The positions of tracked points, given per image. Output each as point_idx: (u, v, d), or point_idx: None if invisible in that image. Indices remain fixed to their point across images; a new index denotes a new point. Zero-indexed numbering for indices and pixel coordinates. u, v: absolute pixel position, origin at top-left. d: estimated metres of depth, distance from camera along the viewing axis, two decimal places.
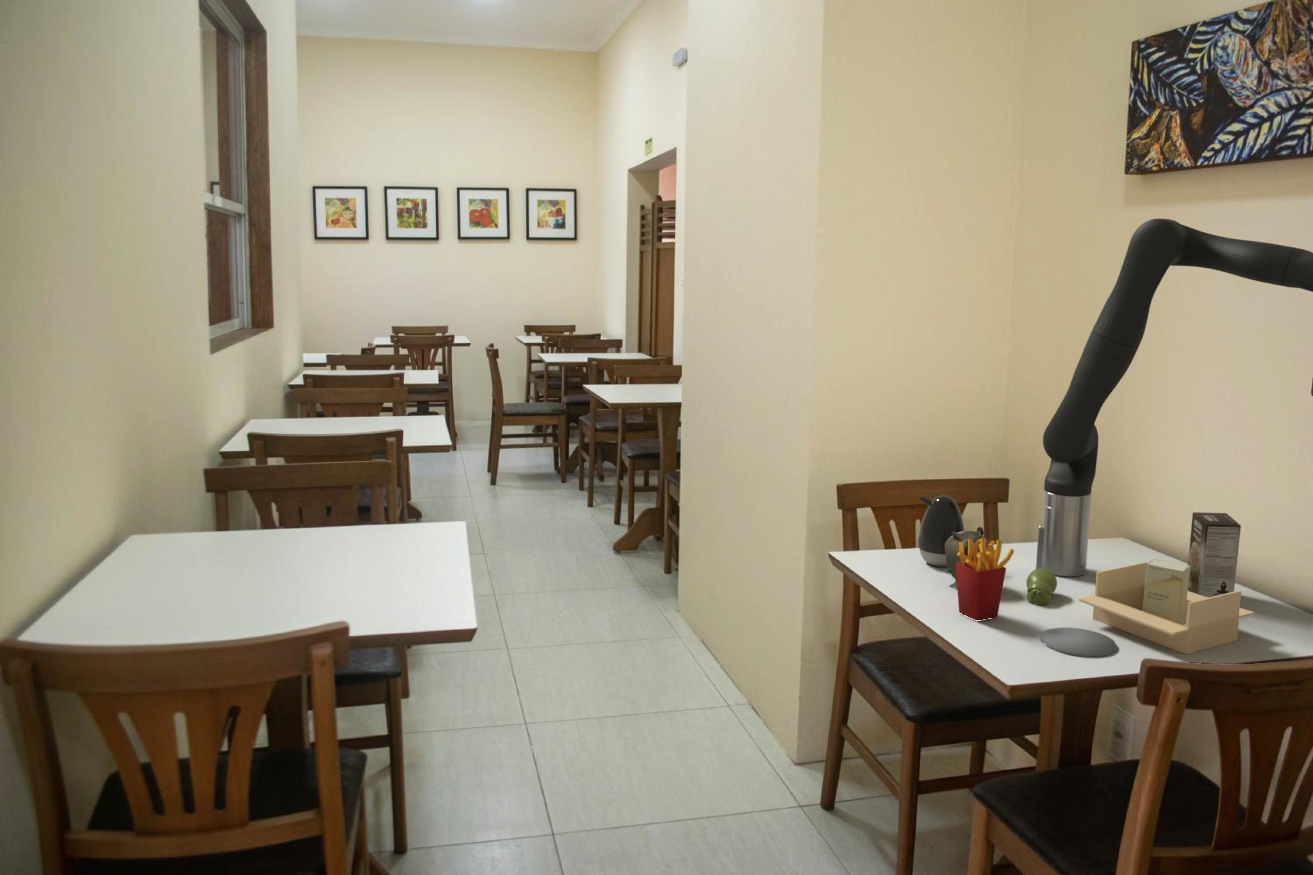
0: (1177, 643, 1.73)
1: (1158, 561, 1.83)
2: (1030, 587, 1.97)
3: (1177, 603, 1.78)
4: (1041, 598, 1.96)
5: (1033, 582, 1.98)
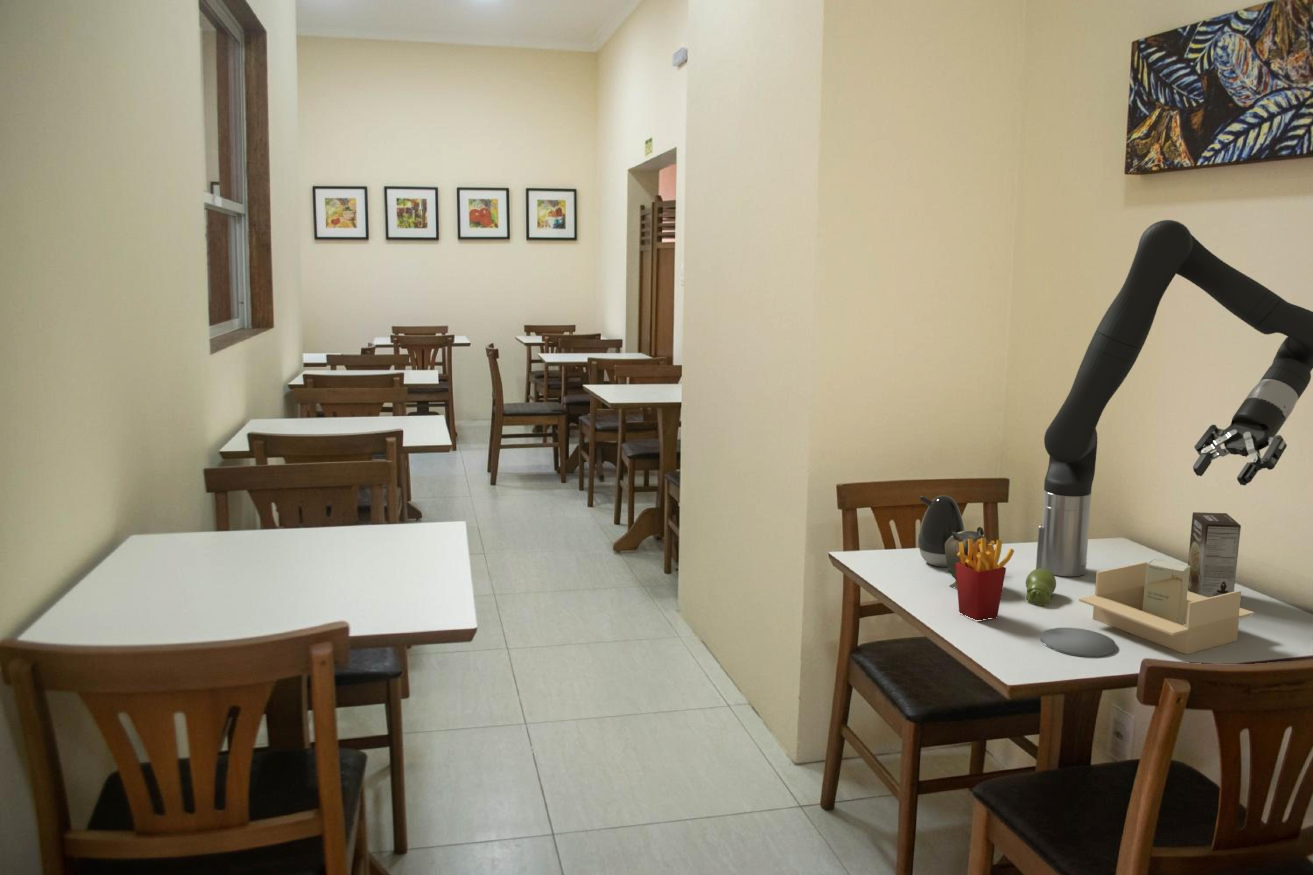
0: (1177, 643, 1.73)
1: (1158, 561, 1.83)
2: (1030, 587, 1.97)
3: (1177, 603, 1.78)
4: (1040, 598, 1.96)
5: (1033, 583, 1.98)
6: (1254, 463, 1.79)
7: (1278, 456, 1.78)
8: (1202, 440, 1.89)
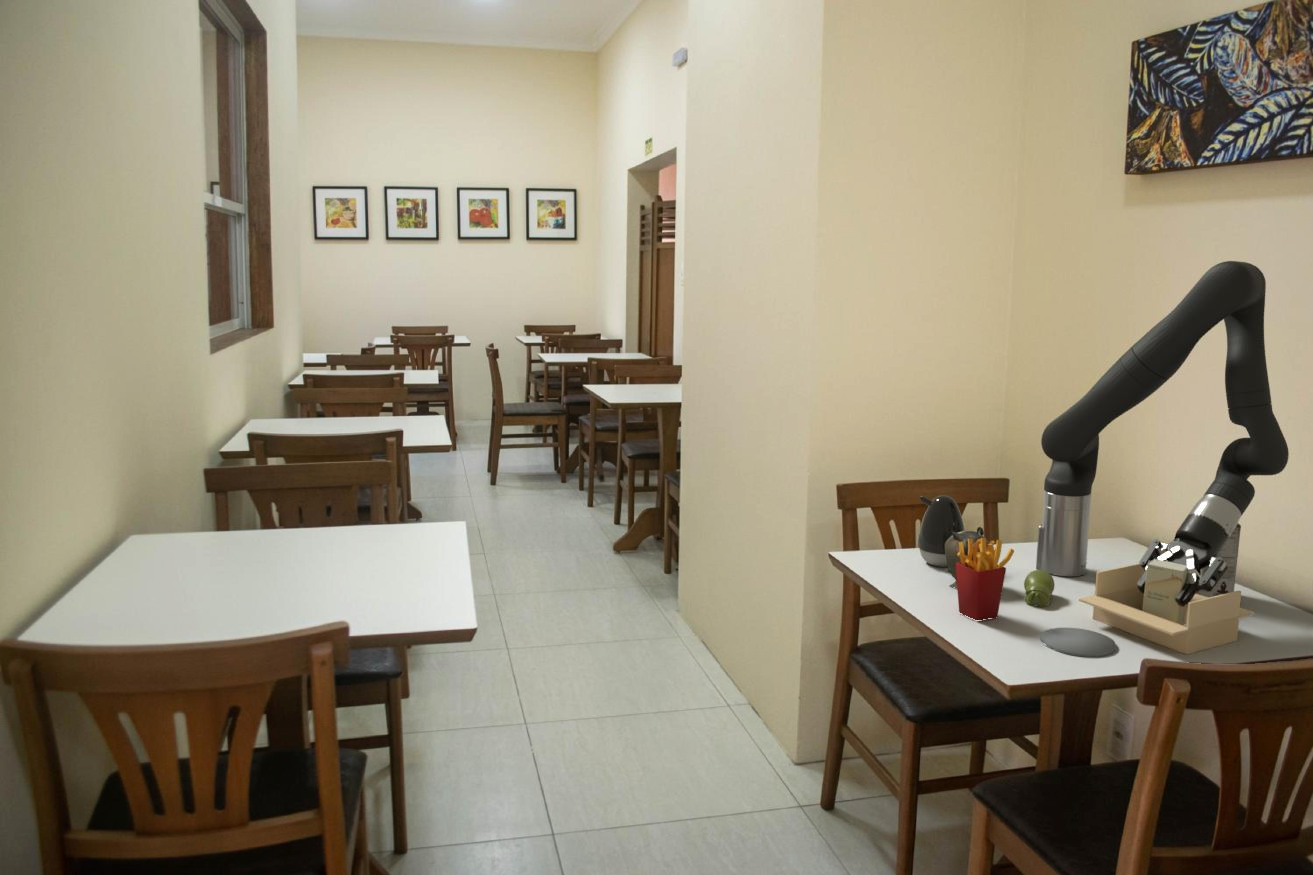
0: (1177, 643, 1.73)
1: (1158, 561, 1.83)
2: (1028, 589, 1.96)
3: None
4: (1039, 600, 1.95)
5: (1032, 584, 1.97)
6: (1192, 584, 1.77)
7: (1217, 578, 1.77)
8: (1146, 556, 1.87)
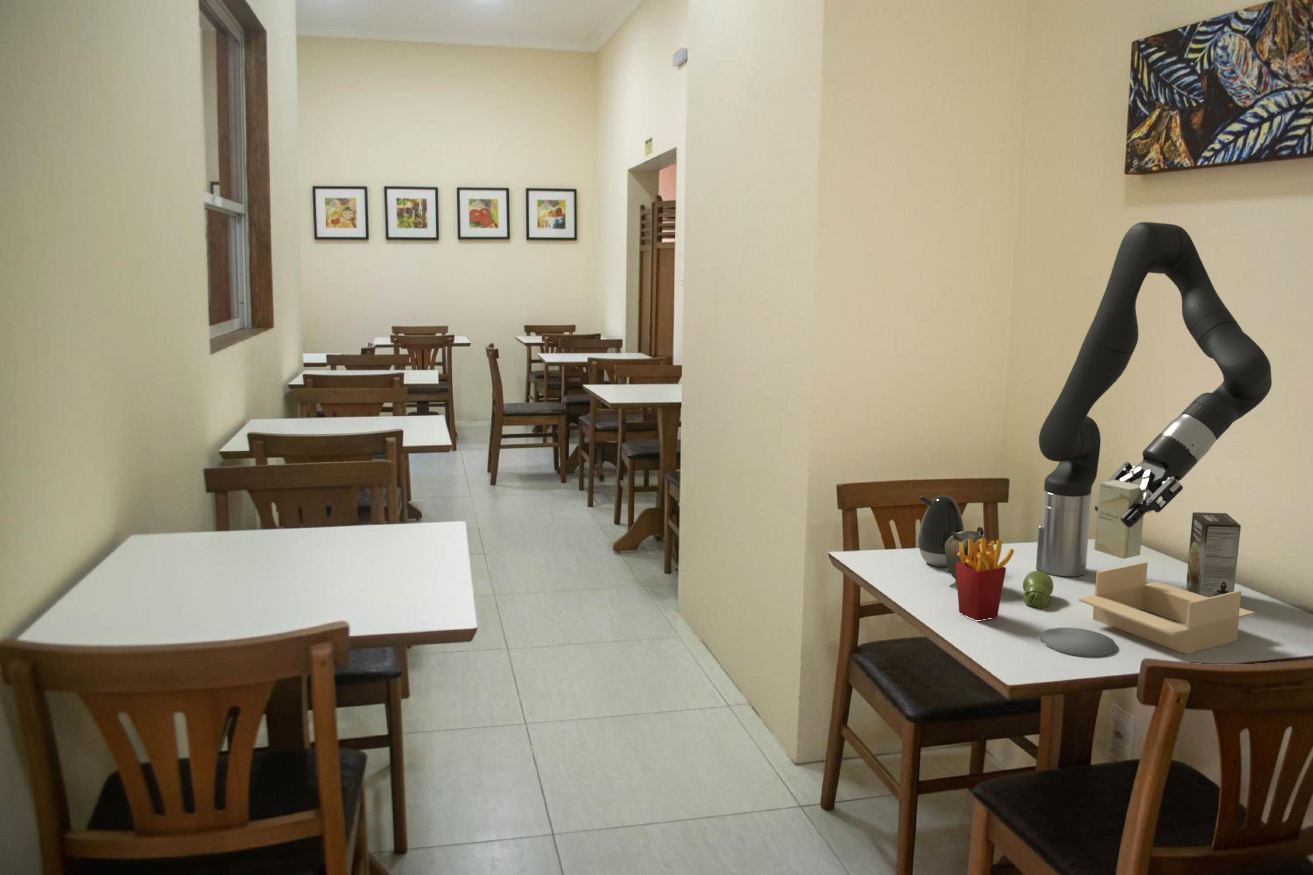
0: (1177, 643, 1.73)
1: (1115, 481, 1.74)
2: (1028, 590, 1.96)
3: None
4: (1039, 601, 1.94)
5: (1031, 585, 1.96)
6: (1140, 504, 1.68)
7: (1167, 499, 1.66)
8: (1112, 478, 1.78)
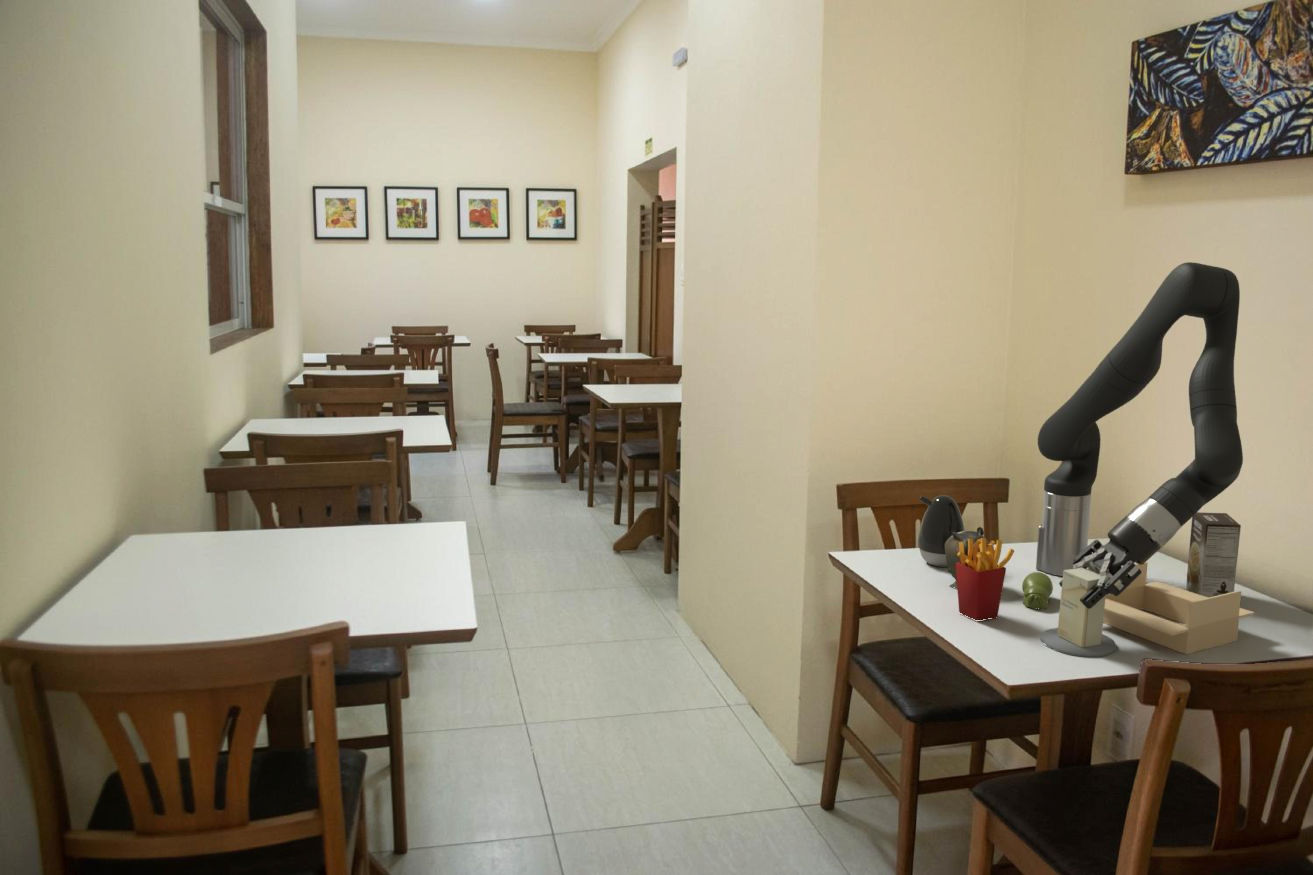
0: (1177, 643, 1.73)
1: (1080, 569, 1.76)
2: (1027, 592, 1.95)
3: (1083, 613, 1.72)
4: (1038, 602, 1.93)
5: (1030, 587, 1.95)
6: (1100, 587, 1.70)
7: (1125, 583, 1.68)
8: (1080, 555, 1.81)
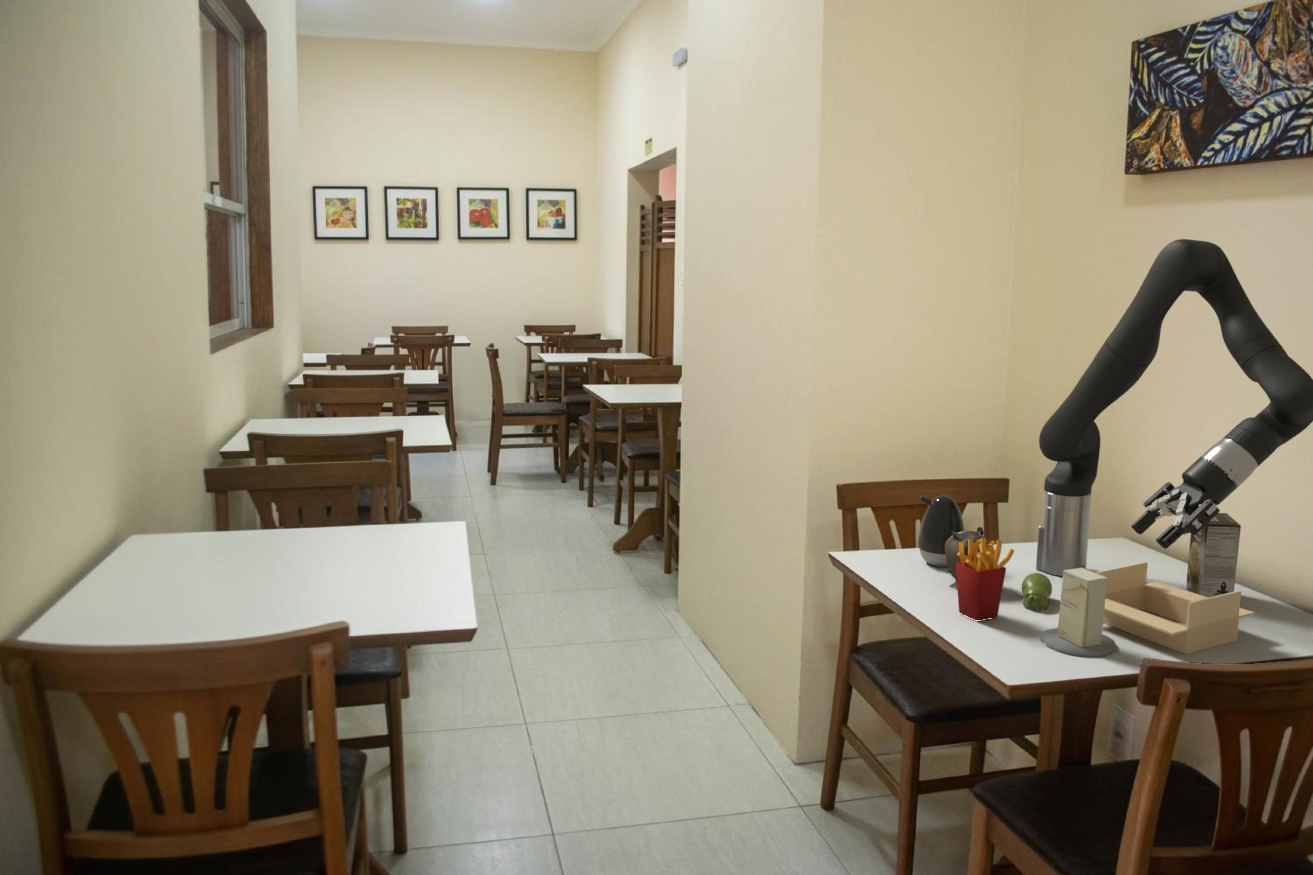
0: (1177, 643, 1.73)
1: (1080, 569, 1.76)
2: (1027, 593, 1.94)
3: (1083, 613, 1.72)
4: (1038, 603, 1.93)
5: (1030, 588, 1.95)
6: (1177, 526, 1.68)
7: (1204, 521, 1.66)
8: (1152, 497, 1.79)
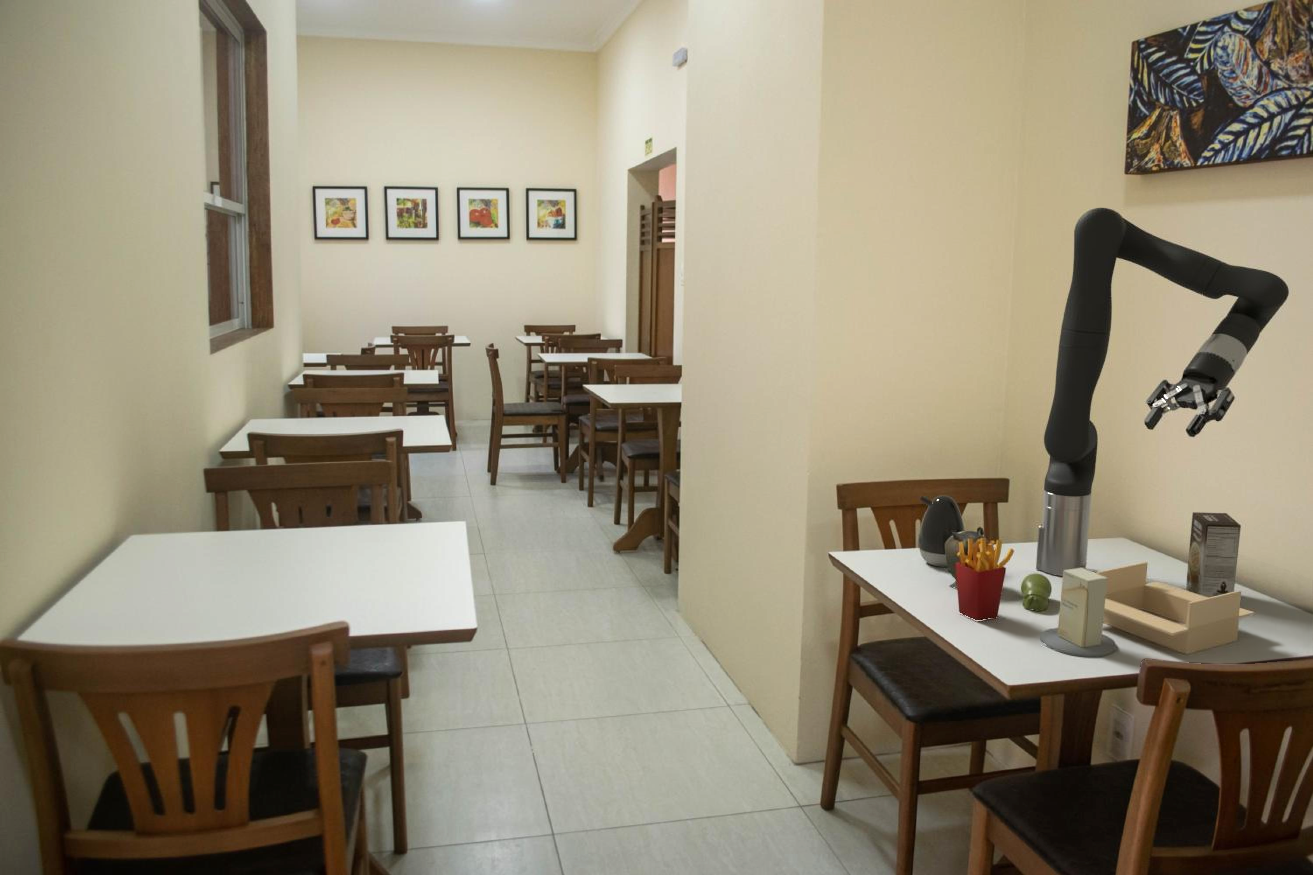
0: (1177, 643, 1.73)
1: (1080, 569, 1.76)
2: (1026, 593, 1.94)
3: (1083, 613, 1.72)
4: (1038, 604, 1.92)
5: (1029, 588, 1.94)
6: (1202, 415, 1.81)
7: (1226, 408, 1.81)
8: (1154, 395, 1.92)
